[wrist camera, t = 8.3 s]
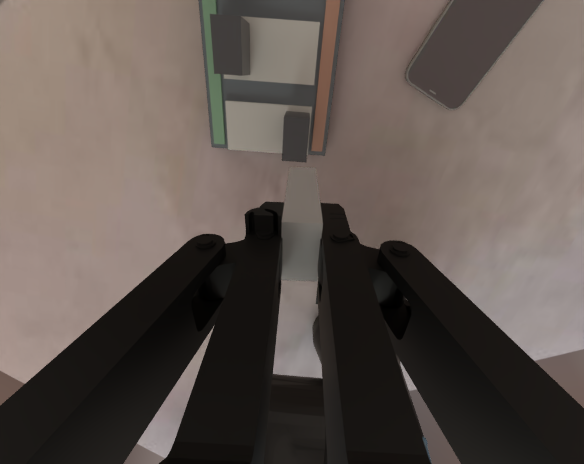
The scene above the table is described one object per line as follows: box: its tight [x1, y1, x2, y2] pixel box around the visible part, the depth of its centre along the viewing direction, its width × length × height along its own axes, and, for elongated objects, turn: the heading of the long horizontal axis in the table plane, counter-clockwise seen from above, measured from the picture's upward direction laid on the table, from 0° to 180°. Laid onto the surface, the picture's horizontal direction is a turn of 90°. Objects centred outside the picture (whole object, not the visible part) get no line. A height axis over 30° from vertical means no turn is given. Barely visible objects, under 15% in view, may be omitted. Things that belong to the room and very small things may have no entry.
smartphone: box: [405, 0, 544, 110], centre depth 26 cm, size 7×1×15 cm
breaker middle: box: [210, 14, 250, 76], centre depth 24 cm, size 2×4×4 cm, turn 176°
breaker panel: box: [199, 0, 345, 156], centre depth 27 cm, size 13×19×2 cm
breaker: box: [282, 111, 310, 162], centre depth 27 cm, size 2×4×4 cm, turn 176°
